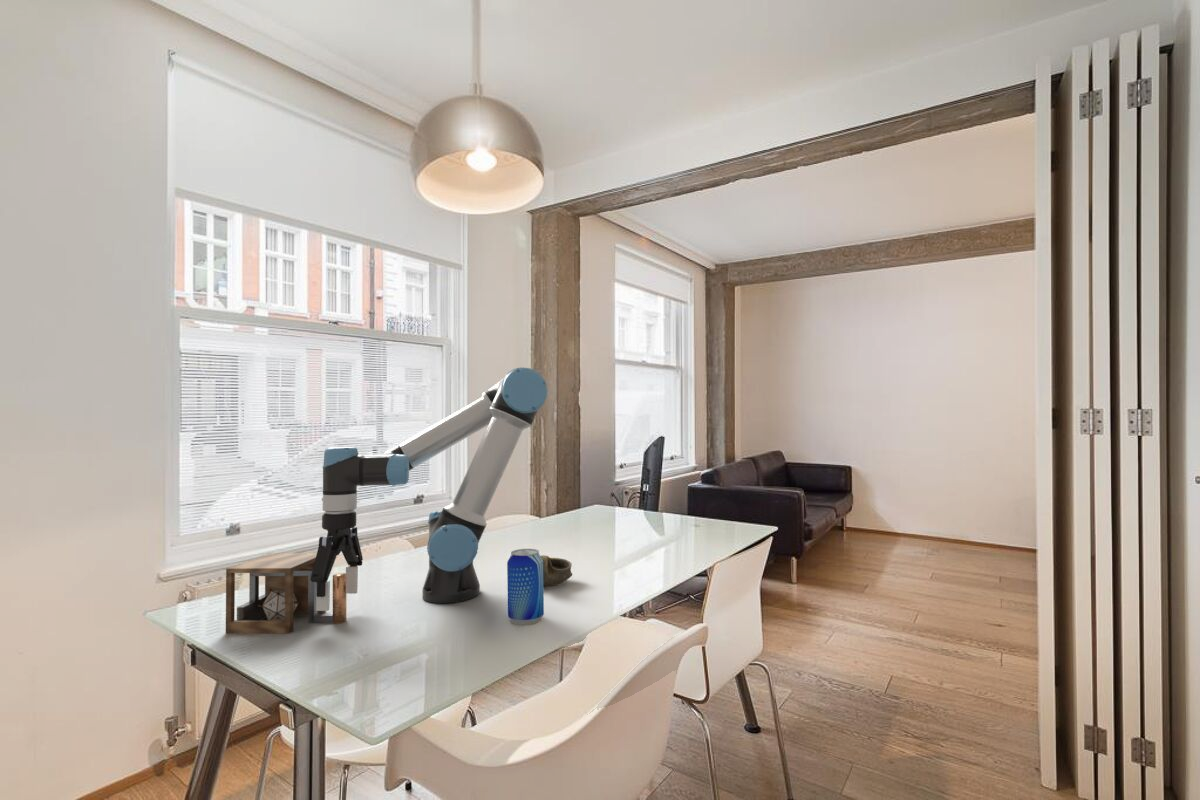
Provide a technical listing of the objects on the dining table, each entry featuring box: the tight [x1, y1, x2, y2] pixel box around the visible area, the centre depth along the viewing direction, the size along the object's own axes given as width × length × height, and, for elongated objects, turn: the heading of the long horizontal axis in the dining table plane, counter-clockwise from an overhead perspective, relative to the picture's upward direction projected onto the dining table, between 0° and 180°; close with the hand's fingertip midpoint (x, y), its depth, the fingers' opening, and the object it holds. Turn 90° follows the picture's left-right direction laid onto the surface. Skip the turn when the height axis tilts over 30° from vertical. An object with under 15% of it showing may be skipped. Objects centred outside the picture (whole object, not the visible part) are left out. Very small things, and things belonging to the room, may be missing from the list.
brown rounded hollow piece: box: [540, 554, 573, 587], centre depth 166 cm, size 14×18×10 cm
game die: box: [259, 586, 301, 620], centre depth 139 cm, size 9×8×10 cm
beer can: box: [506, 548, 545, 626], centre depth 137 cm, size 8×8×16 cm
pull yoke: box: [236, 569, 347, 625], centre depth 139 cm, size 23×10×12 cm, turn 87°
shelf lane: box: [225, 552, 326, 634], centre depth 139 cm, size 15×15×14 cm
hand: (337, 601), depth 138 cm, fingers open, 13 cm apart
